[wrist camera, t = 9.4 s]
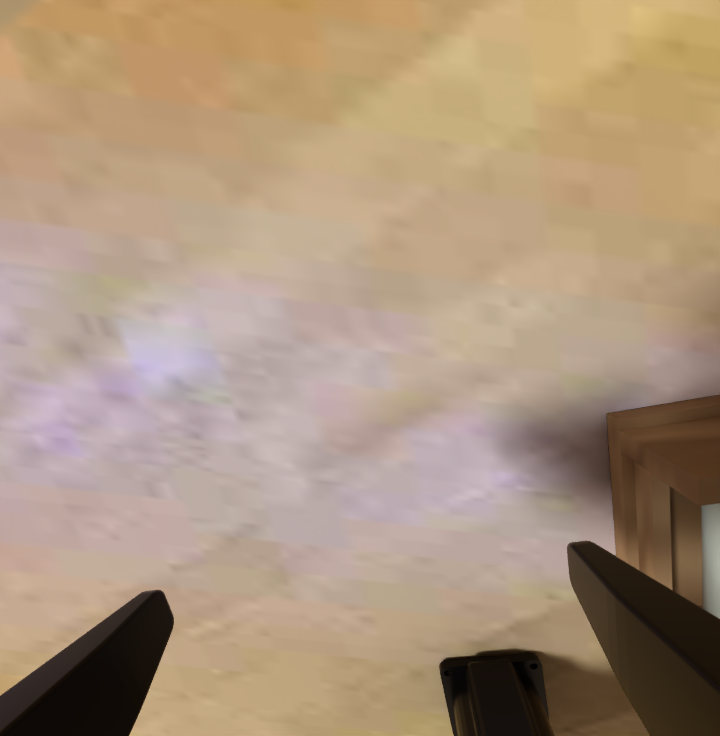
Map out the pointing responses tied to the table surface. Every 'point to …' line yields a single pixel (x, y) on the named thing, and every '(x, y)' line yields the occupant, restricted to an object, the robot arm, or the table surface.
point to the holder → (665, 488)
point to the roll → (711, 558)
